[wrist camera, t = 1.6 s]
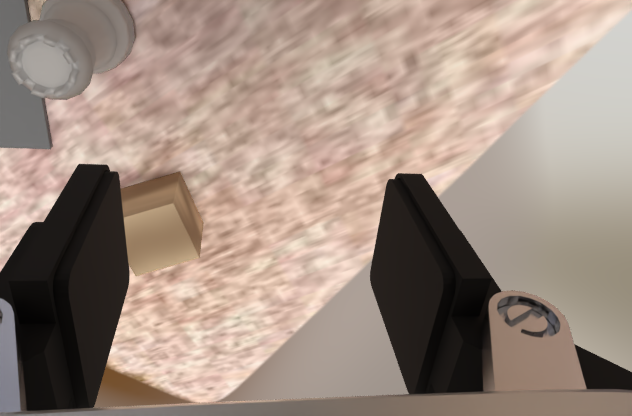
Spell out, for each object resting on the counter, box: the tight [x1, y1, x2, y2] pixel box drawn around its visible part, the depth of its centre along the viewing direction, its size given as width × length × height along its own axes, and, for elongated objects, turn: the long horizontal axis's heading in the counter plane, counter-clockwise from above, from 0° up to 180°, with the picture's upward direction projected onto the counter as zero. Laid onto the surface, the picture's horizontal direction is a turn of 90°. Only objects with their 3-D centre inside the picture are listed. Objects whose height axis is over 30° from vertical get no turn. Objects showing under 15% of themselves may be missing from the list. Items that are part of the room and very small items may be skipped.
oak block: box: [121, 172, 203, 276], centre depth 31 cm, size 4×4×4 cm
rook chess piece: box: [7, 0, 135, 100], centre depth 24 cm, size 4×4×8 cm
